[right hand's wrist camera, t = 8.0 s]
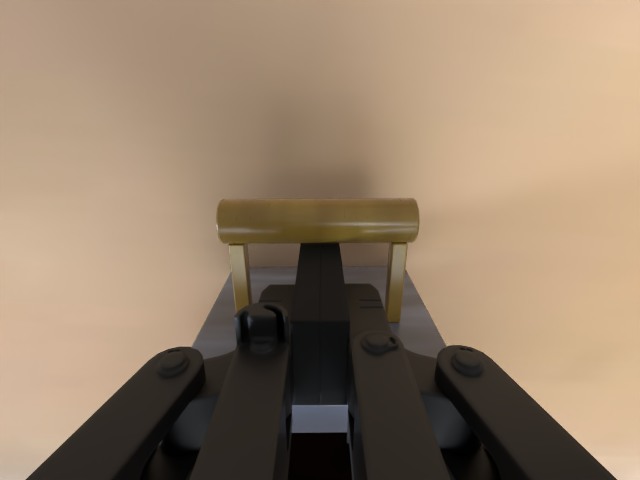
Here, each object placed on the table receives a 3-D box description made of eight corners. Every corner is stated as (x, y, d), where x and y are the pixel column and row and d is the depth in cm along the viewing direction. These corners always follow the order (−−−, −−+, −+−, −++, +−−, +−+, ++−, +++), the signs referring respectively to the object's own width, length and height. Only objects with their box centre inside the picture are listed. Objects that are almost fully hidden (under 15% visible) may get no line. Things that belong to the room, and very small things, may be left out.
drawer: (223, 174, 17) (121, 246, 8) (412, 173, 17) (512, 244, 8) (256, 474, 26) (223, 670, 17) (384, 473, 26) (419, 669, 17)
